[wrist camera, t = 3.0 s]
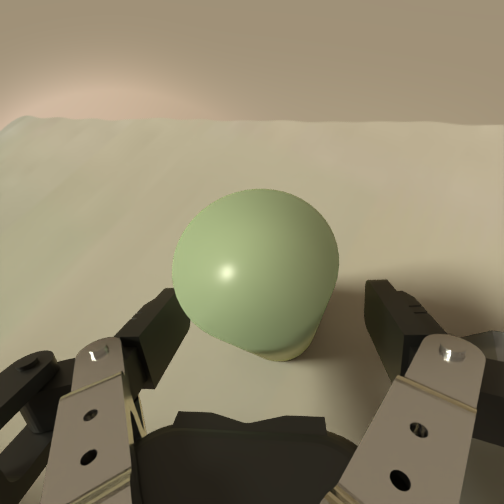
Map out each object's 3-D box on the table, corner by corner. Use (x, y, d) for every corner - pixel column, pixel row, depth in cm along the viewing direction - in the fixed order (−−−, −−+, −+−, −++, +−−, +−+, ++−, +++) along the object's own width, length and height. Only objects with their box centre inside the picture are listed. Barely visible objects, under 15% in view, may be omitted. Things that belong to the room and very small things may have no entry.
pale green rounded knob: (233, 353, 17) (149, 327, 8) (248, 280, 19) (196, 185, 10) (312, 368, 16) (333, 362, 6) (319, 289, 18) (342, 192, 8)
